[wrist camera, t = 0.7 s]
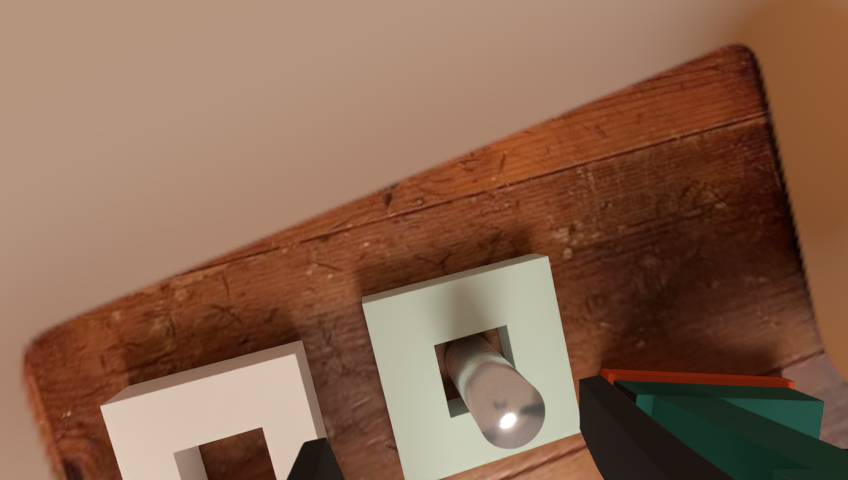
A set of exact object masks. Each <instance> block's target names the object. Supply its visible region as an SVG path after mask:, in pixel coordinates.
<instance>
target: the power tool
mask: <svg viewBox="0 0 848 480" xmlns="http://www.w3.org/2000/svg"><path fill="white" fill-rule="evenodd" d="M600 375H601V376H603V377H604V378H605V379H607V380H608V381H609V382H610V383H611V384H612V385H614V386H615V387H616V388H617V389H618V390H619V391H621V392H622V393H623V394H624V395H625V396H627V397H628V398H629V399H630V400H631V401H632V402H634V403H635V404H636V405H637V406H638V407H640V408H641V409H642V410H643V411H645V412H646V413H647V414H648V415H649V416H651V417H652V418H653V419H654V420H656V421H657V422H658V423H659V424H661V425H662V426H663V427H665V428H666V429H667V430H668V431H670V432H671V433H672V434H674V435H675V436H676V437H677V438H679V439H680V440H681V441H683V442H684V443H685V444H687V445H688V446H689V447H691V448H692V449H693V450H695V451H696V452H697V453H699V454H700V455H701V456H703V457H704V458H706V459H707V460H708V461H710V462H711V463H713V464H714V465H715V466H717V467H718V468H720V469H721V470H722V471H724V472H725V473H727V474H728V475H730V476H731V477H733V478H734V479H736V480H848V449H841V448H838V447H836V446H834V445H831V444H829V443H826V442H824V441H821V440H819V435H820V428H821V421H822V414H823V407H824V401H822V400H819V399H817V398H814V397H812V396H809V395H806V394H804V393H801V392H799V391H796V390H794V383H795V382H794V381H791V380H788V379H786V378H783V377H768V376H748V375H727V374H706V373H685V372H665V371H644V370H623V369H602V368H601V373H600Z"/></svg>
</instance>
